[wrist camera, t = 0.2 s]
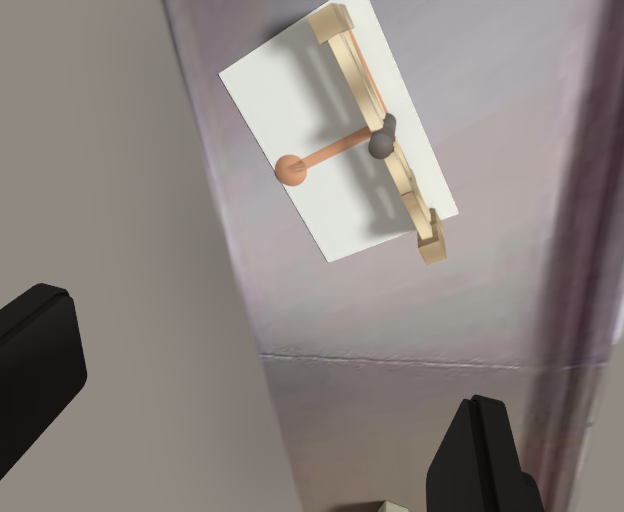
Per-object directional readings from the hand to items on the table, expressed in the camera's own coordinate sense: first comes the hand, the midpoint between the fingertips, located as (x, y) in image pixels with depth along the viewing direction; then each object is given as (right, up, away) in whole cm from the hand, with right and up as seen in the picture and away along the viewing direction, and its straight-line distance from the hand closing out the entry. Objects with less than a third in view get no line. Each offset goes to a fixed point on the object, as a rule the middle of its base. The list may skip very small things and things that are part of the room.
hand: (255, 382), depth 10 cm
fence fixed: (+6, +20, +30) cm, 37 cm away
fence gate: (+12, +11, +34) cm, 37 cm away
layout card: (+4, +15, +34) cm, 37 cm away
